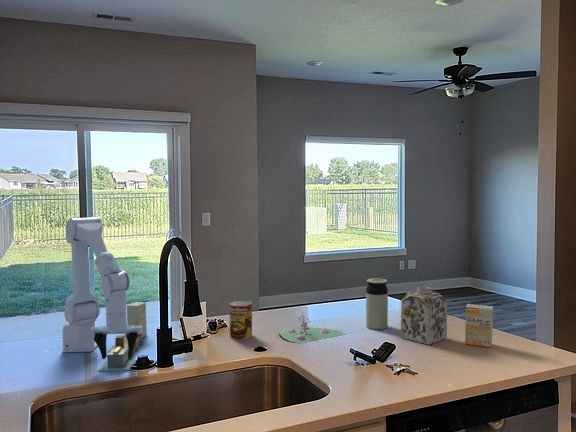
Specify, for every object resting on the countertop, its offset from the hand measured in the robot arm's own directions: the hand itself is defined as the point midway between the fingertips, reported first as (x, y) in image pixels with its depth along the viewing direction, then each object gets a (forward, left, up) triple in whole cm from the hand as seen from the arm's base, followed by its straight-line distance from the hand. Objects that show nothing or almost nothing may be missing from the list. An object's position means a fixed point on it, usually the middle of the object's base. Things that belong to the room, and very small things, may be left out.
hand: (117, 357), depth 148 cm
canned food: (+36, +26, -3) cm, 45 cm away
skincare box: (-1, +28, -3) cm, 29 cm away
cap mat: (0, 0, -3) cm, 3 cm away
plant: (+62, +26, -3) cm, 67 cm away
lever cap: (0, 0, -2) cm, 2 cm away
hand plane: (-1, +14, -3) cm, 14 cm away
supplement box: (+116, +10, -3) cm, 117 cm away
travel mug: (+87, +34, -3) cm, 93 cm away
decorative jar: (+100, +18, -3) cm, 102 cm away
